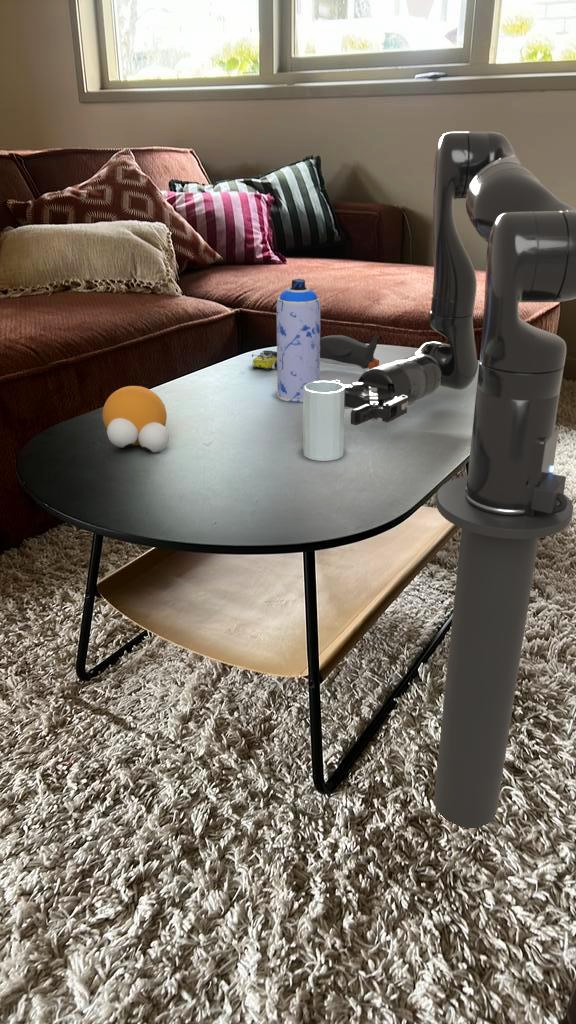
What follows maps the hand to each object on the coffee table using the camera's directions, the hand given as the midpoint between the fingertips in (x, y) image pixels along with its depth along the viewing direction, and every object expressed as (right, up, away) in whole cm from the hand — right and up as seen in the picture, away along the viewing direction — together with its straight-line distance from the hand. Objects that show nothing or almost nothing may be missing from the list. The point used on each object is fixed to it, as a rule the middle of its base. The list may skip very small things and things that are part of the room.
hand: (328, 412), depth 109 cm
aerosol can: (-4, +6, +27) cm, 28 cm away
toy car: (-9, +16, +46) cm, 50 cm away
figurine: (+5, +14, +43) cm, 45 cm away
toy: (-28, -4, +7) cm, 29 cm away
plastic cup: (-1, -6, +2) cm, 6 cm away
